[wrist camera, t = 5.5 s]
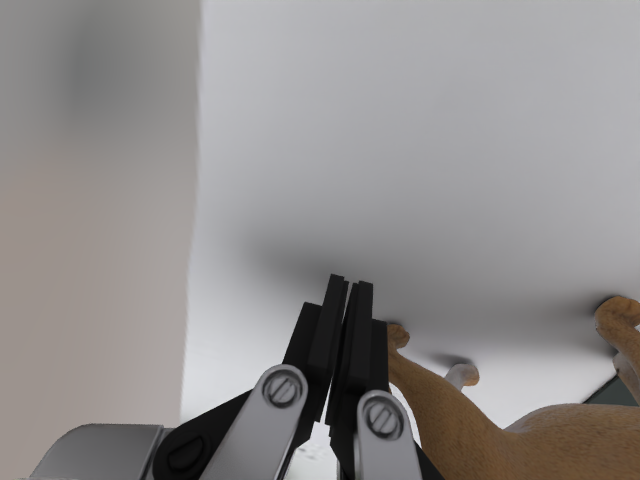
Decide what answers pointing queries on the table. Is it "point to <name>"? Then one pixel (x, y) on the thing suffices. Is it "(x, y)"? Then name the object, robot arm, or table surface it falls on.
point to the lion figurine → (527, 418)
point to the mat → (614, 395)
